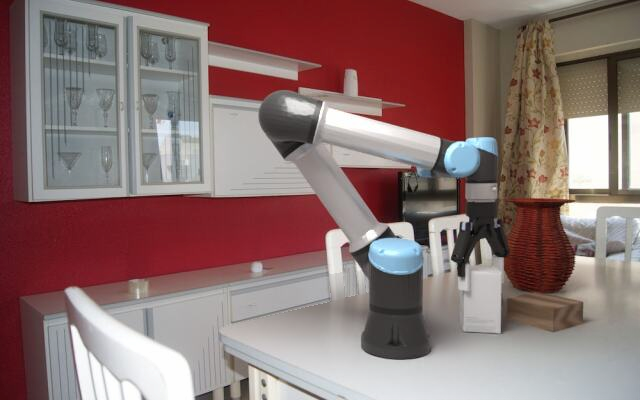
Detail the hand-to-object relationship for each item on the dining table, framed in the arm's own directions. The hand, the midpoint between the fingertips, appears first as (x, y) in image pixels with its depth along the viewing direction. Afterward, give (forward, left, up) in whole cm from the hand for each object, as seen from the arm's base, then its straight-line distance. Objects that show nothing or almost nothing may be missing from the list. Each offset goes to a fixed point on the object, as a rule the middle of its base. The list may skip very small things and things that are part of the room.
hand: (481, 286), depth 123 cm
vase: (+52, +16, -11) cm, 55 cm away
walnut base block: (+18, -6, -11) cm, 22 cm away
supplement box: (0, 0, -11) cm, 11 cm away
